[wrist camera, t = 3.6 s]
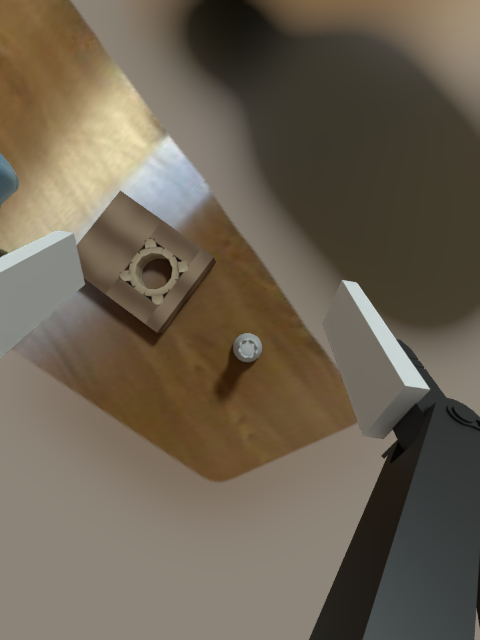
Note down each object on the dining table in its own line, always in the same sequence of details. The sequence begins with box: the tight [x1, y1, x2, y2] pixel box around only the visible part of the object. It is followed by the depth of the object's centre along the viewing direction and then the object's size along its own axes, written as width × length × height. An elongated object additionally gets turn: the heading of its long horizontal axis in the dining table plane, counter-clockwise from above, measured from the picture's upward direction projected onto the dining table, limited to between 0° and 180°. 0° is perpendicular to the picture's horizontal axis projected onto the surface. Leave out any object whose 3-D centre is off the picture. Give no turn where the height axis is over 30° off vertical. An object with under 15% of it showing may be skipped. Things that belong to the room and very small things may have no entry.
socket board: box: [77, 191, 216, 333], centre depth 39 cm, size 14×18×2 cm
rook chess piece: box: [233, 333, 262, 362], centre depth 35 cm, size 4×4×8 cm
